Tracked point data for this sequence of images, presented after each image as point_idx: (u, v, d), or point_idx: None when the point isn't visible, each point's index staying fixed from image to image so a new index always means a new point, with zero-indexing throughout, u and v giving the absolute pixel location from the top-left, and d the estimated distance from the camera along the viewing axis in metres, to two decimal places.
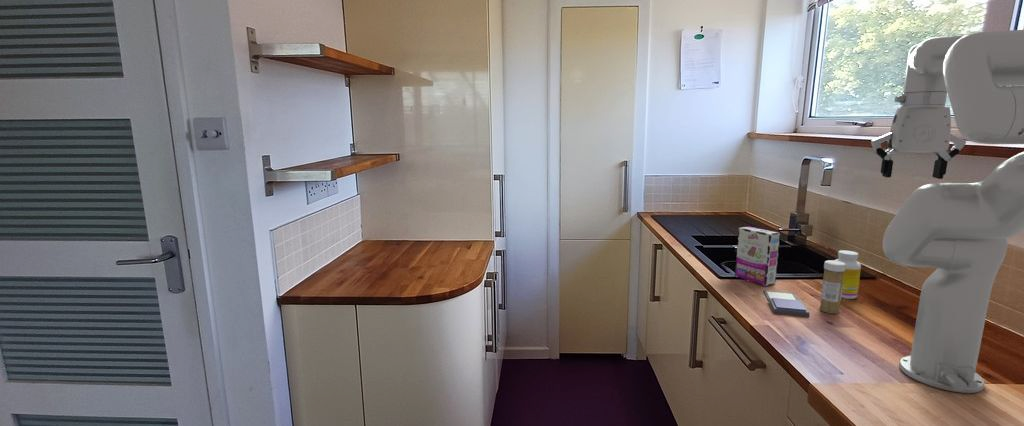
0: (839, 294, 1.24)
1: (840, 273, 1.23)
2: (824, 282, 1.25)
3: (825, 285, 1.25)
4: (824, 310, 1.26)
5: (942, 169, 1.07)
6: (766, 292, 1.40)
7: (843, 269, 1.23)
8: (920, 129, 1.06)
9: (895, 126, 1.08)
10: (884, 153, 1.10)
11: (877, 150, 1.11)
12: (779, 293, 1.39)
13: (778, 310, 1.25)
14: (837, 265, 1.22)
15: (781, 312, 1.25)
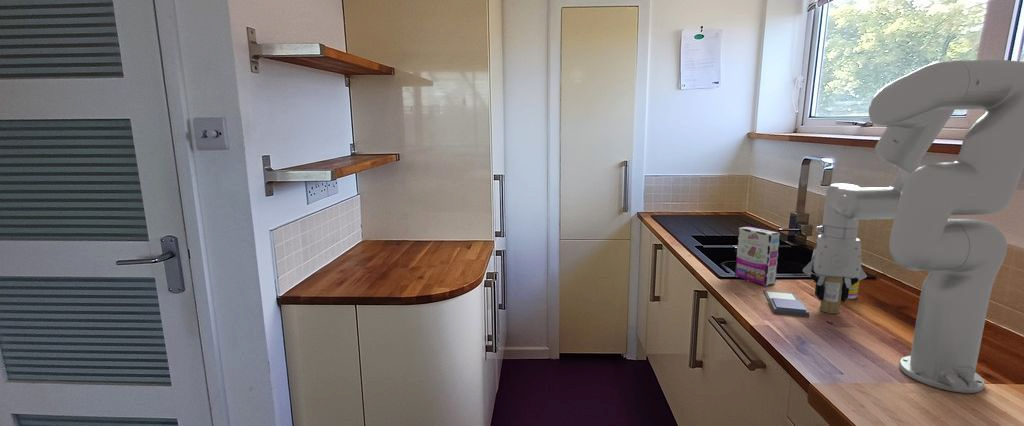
0: (839, 294, 1.24)
1: None
2: (824, 282, 1.25)
3: (825, 285, 1.25)
4: (824, 310, 1.26)
5: (844, 295, 1.24)
6: (766, 292, 1.40)
7: None
8: (835, 258, 1.22)
9: (815, 252, 1.24)
10: (815, 280, 1.26)
11: (811, 277, 1.26)
12: (779, 293, 1.39)
13: (778, 310, 1.25)
14: None
15: (781, 312, 1.25)
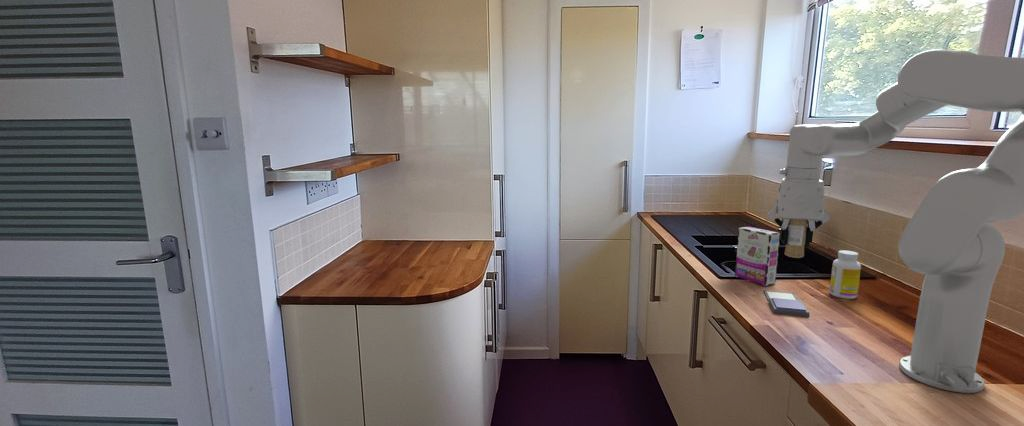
0: (803, 237, 1.22)
1: None
2: (788, 226, 1.24)
3: (789, 229, 1.24)
4: (788, 254, 1.24)
5: (808, 238, 1.22)
6: (766, 292, 1.40)
7: None
8: (799, 199, 1.20)
9: (779, 195, 1.23)
10: (779, 224, 1.24)
11: (775, 221, 1.25)
12: (779, 293, 1.39)
13: (778, 310, 1.25)
14: None
15: (781, 312, 1.25)
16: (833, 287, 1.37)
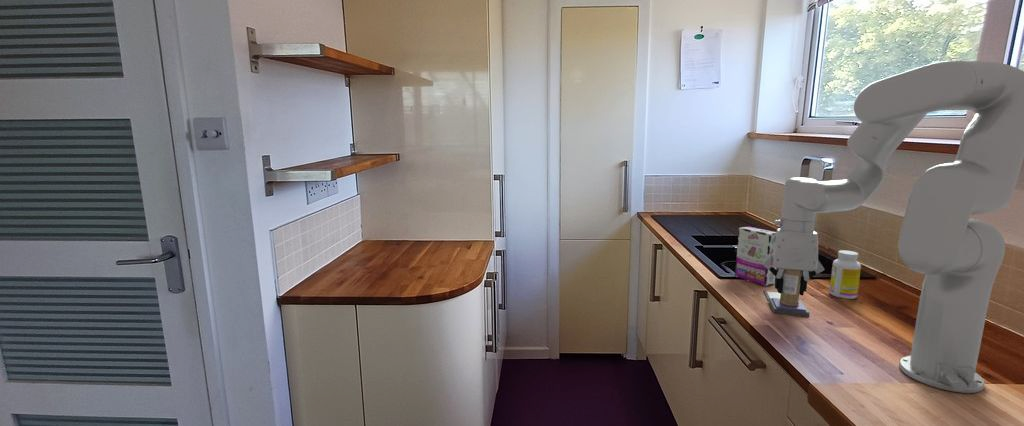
0: (797, 286, 1.25)
1: None
2: (783, 275, 1.27)
3: (784, 278, 1.26)
4: (783, 303, 1.27)
5: (802, 287, 1.25)
6: (766, 292, 1.40)
7: None
8: (793, 251, 1.23)
9: (774, 246, 1.25)
10: (774, 273, 1.27)
11: (770, 270, 1.27)
12: (779, 293, 1.39)
13: (778, 310, 1.25)
14: None
15: (781, 312, 1.25)
16: (833, 287, 1.37)
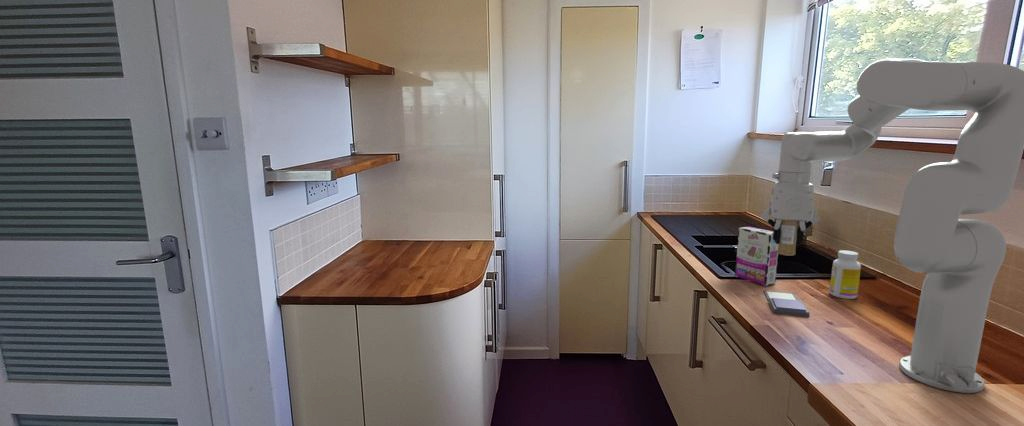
0: (794, 236, 1.31)
1: None
2: (781, 226, 1.33)
3: (781, 229, 1.32)
4: (781, 253, 1.33)
5: (799, 237, 1.31)
6: (766, 292, 1.40)
7: None
8: (790, 202, 1.29)
9: (772, 198, 1.31)
10: (772, 225, 1.33)
11: (768, 222, 1.33)
12: (779, 293, 1.39)
13: (778, 310, 1.25)
14: None
15: (781, 312, 1.25)
16: (833, 287, 1.37)
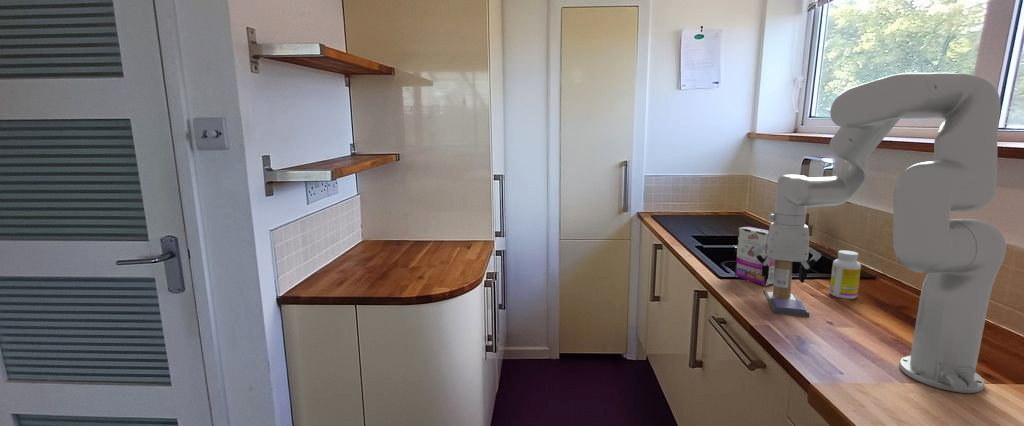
0: (789, 280, 1.33)
1: None
2: (775, 269, 1.35)
3: (776, 272, 1.35)
4: (776, 296, 1.35)
5: (803, 275, 1.32)
6: (766, 292, 1.40)
7: None
8: (786, 243, 1.31)
9: (768, 238, 1.34)
10: (762, 260, 1.36)
11: (757, 257, 1.36)
12: None
13: (778, 310, 1.25)
14: None
15: (781, 312, 1.25)
16: (833, 287, 1.37)
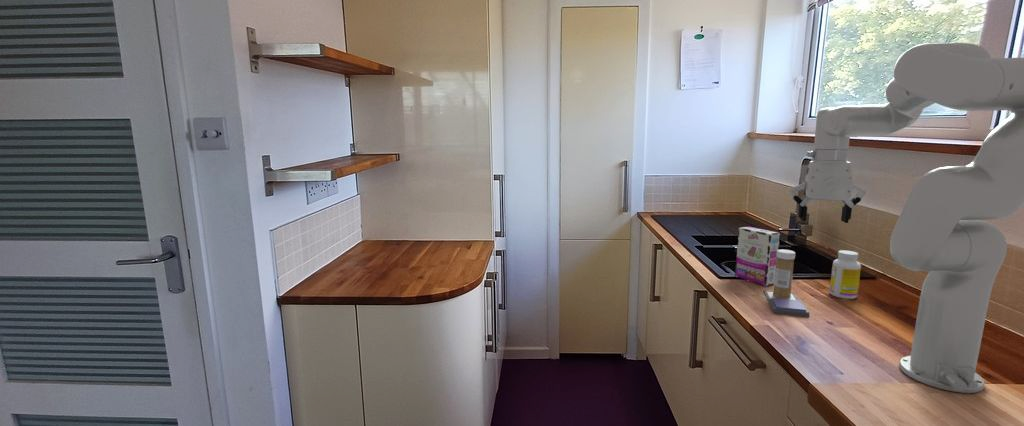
0: (790, 281, 1.33)
1: (790, 260, 1.32)
2: (776, 269, 1.35)
3: (777, 272, 1.35)
4: (776, 296, 1.35)
5: (847, 215, 1.24)
6: (766, 292, 1.40)
7: (793, 257, 1.32)
8: (827, 181, 1.23)
9: (807, 177, 1.25)
10: (800, 200, 1.27)
11: (794, 197, 1.27)
12: None
13: (778, 310, 1.25)
14: (787, 253, 1.32)
15: (781, 312, 1.25)
16: (833, 287, 1.37)
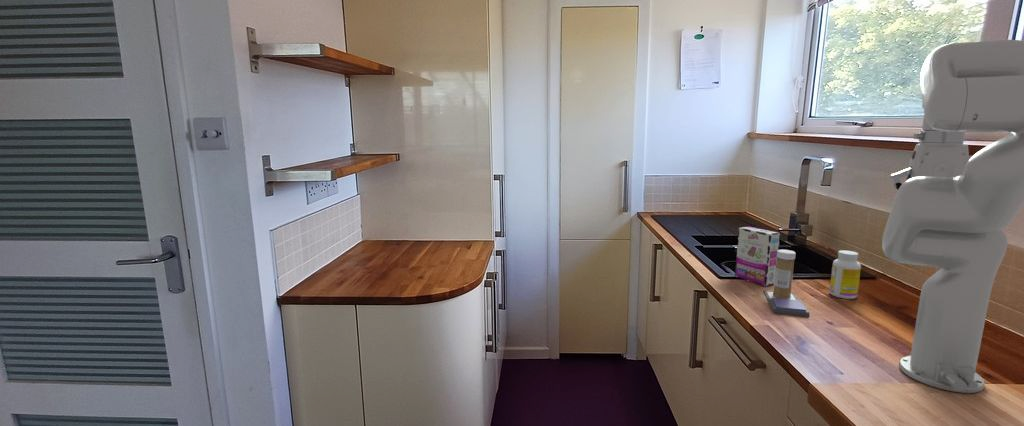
0: (790, 281, 1.33)
1: (790, 261, 1.32)
2: (776, 270, 1.35)
3: (777, 272, 1.35)
4: (776, 296, 1.35)
5: None
6: (766, 292, 1.40)
7: (793, 257, 1.32)
8: (939, 166, 1.09)
9: (914, 162, 1.11)
10: None
11: (896, 185, 1.14)
12: None
13: (778, 310, 1.25)
14: (788, 253, 1.32)
15: (781, 312, 1.25)
16: (833, 287, 1.37)
